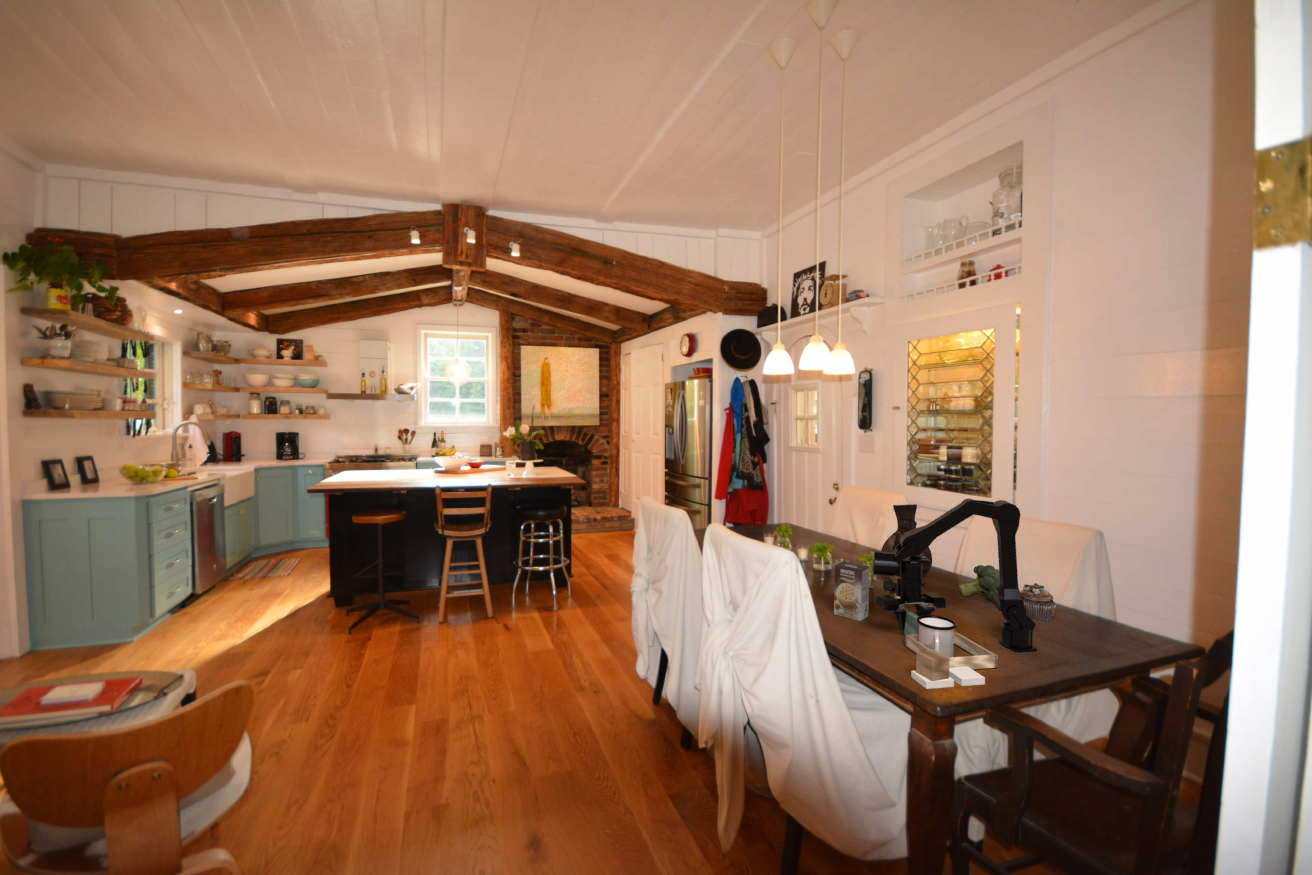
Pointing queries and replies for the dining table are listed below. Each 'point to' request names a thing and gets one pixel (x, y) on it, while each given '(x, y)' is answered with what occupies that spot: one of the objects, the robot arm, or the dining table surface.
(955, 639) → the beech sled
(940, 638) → the mug
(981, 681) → the broken cream strip
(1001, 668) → the dining table surface
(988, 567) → the vegetable
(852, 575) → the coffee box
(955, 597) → the dining table surface
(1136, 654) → the dining table surface
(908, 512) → the ceramic vessel
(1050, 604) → the cupcake
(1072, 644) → the dining table surface
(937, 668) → the beige cube
